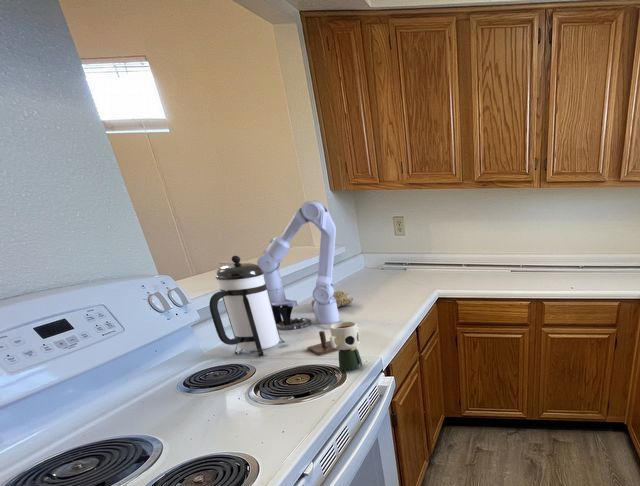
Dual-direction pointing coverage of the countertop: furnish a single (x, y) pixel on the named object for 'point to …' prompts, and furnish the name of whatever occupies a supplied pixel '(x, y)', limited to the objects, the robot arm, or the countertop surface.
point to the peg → (322, 346)
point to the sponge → (340, 299)
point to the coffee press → (245, 307)
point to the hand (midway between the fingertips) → (283, 324)
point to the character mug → (346, 344)
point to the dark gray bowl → (303, 323)
